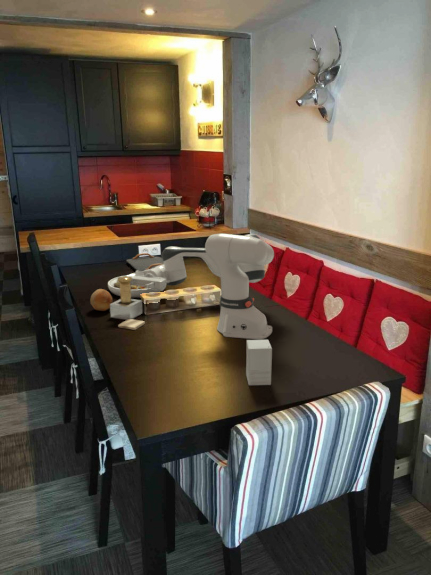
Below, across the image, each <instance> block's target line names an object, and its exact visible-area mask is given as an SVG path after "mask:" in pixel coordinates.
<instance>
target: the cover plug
mask: <svg viewBox="0 0 431 575" xmlns="http://www.w3.org/2000/svg"><path fill="white" fill-rule="evenodd" d="M123 276H124V277H120V276H118V277H119V278H118V282H120V296H119V298H120V299H121V304H124V305H129V304H131V299H132V297H131V285H130V281H132V277H128V276H126V275H123Z"/></svg>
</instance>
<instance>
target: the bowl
mask: <svg viewBox="0 0 431 575" xmlns="http://www.w3.org/2000/svg"><path fill="white" fill-rule="evenodd" d="M127 275H128V274H127ZM127 275H121V276H117V277H114V278H112V279H110V280H108V281H107V288H108V290H109V291H110V293H112V294H113V295H116V296H118V297H120V282H118V278H119V277H124V276H127ZM166 287H167V285H166V286H165V287H164V288H162V289H158V288H148V289H146V288H145V287H142V286H134V285H132V286H131V299H134V298H141V297H140V294H142V293H149V292H160V291H162V292H163V291H164V290H165V289H166ZM160 293H161V292H160Z"/></svg>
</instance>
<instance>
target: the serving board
mask: <svg viewBox="0 0 431 575" xmlns="http://www.w3.org/2000/svg"><path fill="white" fill-rule="evenodd" d="M142 256H143V257H142ZM125 261H126V263H128V264H129V265H130V266H131V267H132V268H133V270H135V271H137V270H148V269H152V268H155V267H156V266H159V265H163V264H164V262H163V259H162V256H155V255H152V254H150V253H148V252H147V253H145V252H142V253H137V254H136V255H135V256H134V257H132V258H128V259H126V260H125Z"/></svg>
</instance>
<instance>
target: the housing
mask: <svg viewBox="0 0 431 575" xmlns="http://www.w3.org/2000/svg"><path fill="white" fill-rule="evenodd" d="M109 309H110V310H109V312H110V318H113V319H119V320H125V321H126V320H128V319H133V320H134V319H135V318H137V317H138V316H140V315H141V314H143V300H141V299H134V298H131V304H129V305H124V304H121V298H119V299H118V300H116V301H114V302H113V301H112V303H111V304H110V307H109Z"/></svg>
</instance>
